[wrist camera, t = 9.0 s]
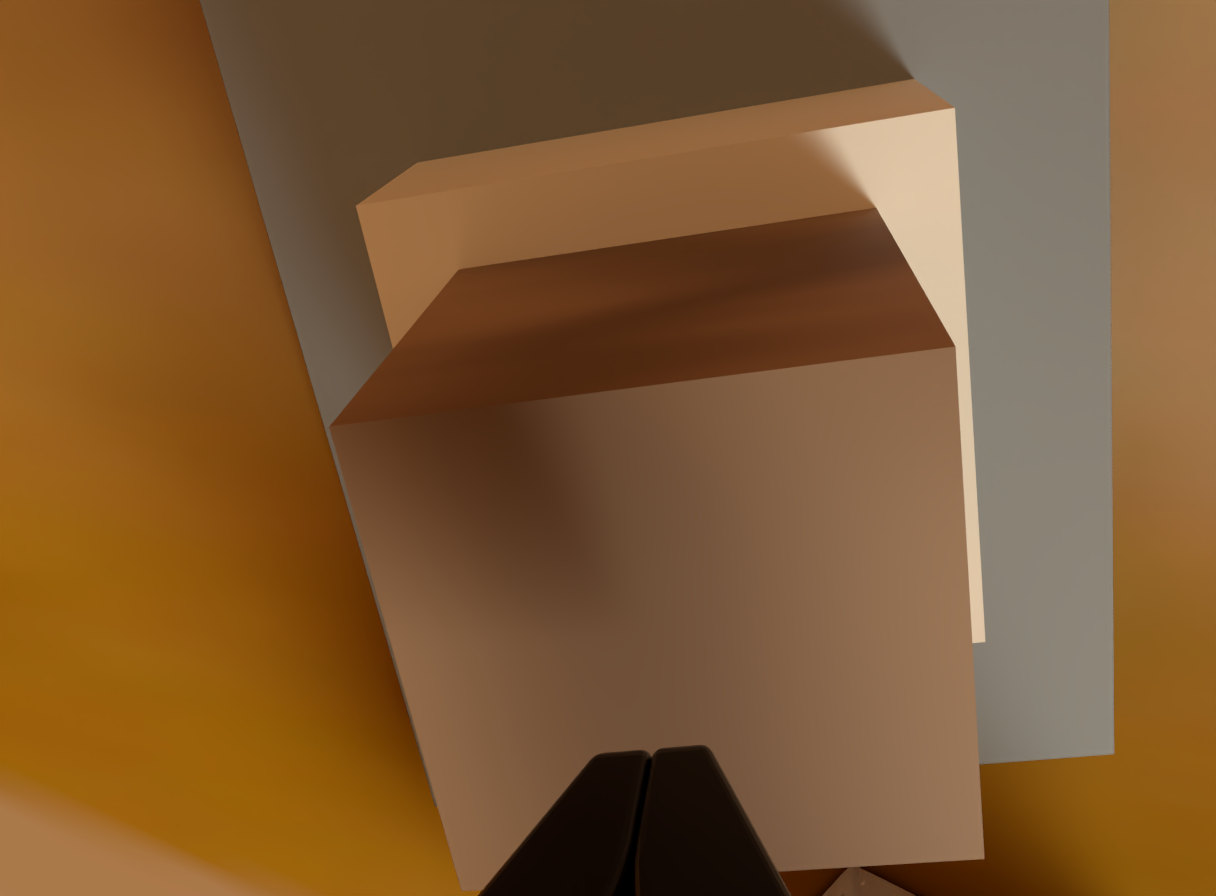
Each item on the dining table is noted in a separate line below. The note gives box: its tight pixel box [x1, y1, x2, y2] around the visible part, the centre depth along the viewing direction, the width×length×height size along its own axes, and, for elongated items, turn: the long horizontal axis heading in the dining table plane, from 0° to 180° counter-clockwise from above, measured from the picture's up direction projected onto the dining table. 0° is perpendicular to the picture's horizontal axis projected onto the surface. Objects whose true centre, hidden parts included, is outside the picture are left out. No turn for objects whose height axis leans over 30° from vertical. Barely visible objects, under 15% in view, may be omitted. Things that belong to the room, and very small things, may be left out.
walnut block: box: [329, 208, 985, 891], centre depth 12 cm, size 5×5×5 cm
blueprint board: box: [200, 0, 1114, 807], centre depth 16 cm, size 12×16×4 cm
